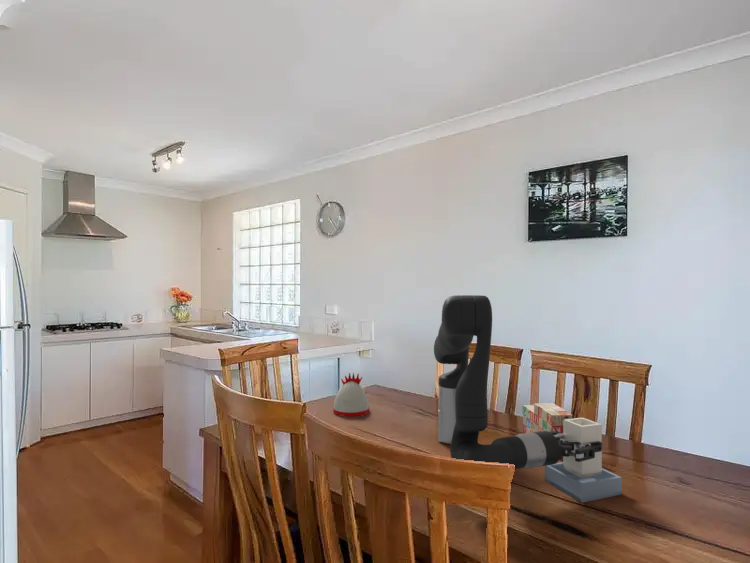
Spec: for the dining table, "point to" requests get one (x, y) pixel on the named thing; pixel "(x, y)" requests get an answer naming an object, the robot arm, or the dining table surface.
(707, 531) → the dining table surface
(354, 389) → the kitchen timer
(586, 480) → the slate crate
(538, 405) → the stack of blocks
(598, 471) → the cream caddy
